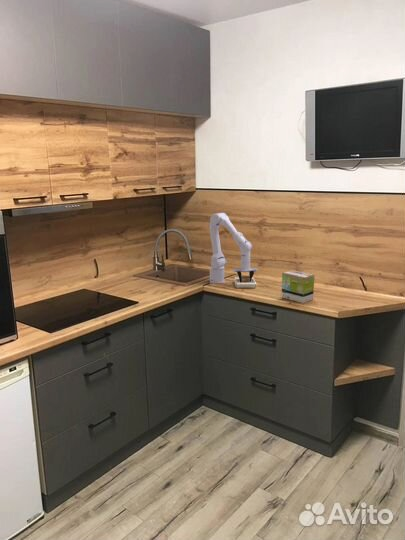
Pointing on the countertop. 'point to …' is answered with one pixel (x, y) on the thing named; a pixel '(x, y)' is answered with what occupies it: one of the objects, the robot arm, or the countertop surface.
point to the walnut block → (245, 279)
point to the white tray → (244, 285)
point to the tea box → (297, 286)
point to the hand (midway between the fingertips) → (245, 283)
